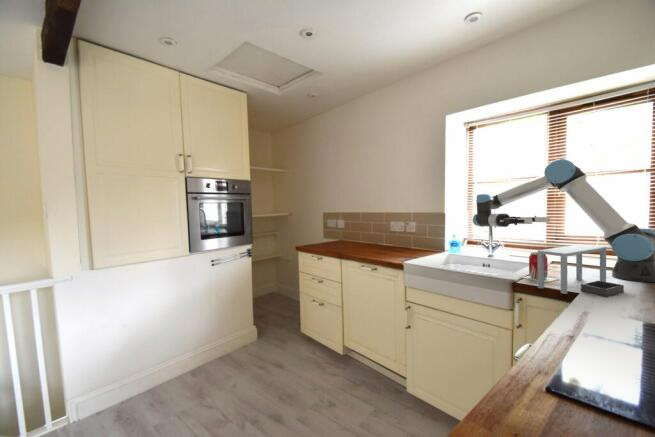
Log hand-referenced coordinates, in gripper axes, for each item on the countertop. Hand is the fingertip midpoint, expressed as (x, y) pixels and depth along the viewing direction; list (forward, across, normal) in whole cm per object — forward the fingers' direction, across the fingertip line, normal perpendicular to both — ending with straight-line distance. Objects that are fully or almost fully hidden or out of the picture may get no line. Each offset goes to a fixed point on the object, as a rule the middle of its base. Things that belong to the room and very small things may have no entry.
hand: (540, 220), depth 136 cm
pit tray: (+26, +8, -28) cm, 39 cm away
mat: (+3, +8, -28) cm, 29 cm away
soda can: (+2, +8, -28) cm, 29 cm away
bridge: (+16, +8, -28) cm, 33 cm away
